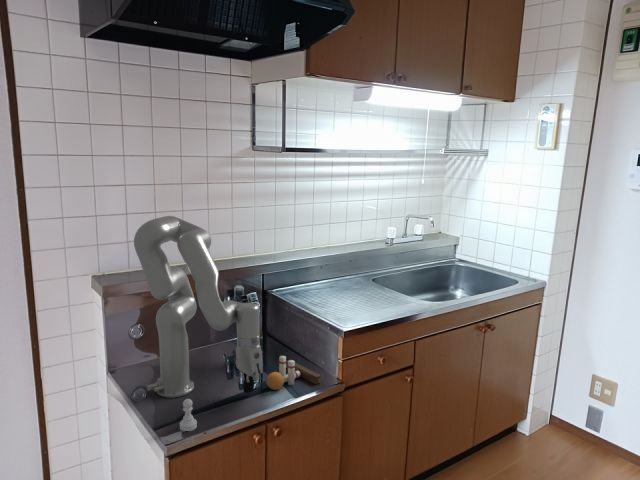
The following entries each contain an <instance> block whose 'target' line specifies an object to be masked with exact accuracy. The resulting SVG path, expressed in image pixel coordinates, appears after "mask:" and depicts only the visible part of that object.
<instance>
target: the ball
mask: <svg viewBox="0 0 640 480" xmlns="http://www.w3.org/2000/svg"><path fill="white" fill-rule="evenodd" d="M266 385H267V386H268V387H269V389H271V390H273V391H276V390H279V389H281V388H282V387H283V385H284V378H283V376H282V375H281V374H280V373H279V371H278V372H277V371H274V372H273V371H272V372H271V373H269V374H268V376H267V378H266Z"/></svg>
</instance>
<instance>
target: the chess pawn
mask: <svg viewBox="0 0 640 480" xmlns="http://www.w3.org/2000/svg"><path fill="white" fill-rule="evenodd" d="M193 404H194V403H193V400H192V399H191V398H185V399H184V400H183V402H182V407H183V408H182V411H183V412H184V415H183V417H182V420H181V421H180V422H179V429H180V431H182V432H185V431H189V432H192V431H194V430H196V429H197V427H198V425H197V424H198V421H197V419H195V418H194V416H193V414H192V410H194V407H193Z"/></svg>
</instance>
